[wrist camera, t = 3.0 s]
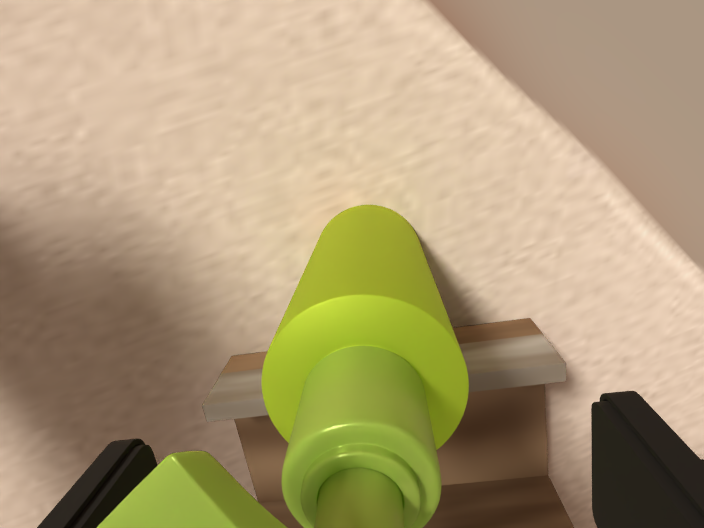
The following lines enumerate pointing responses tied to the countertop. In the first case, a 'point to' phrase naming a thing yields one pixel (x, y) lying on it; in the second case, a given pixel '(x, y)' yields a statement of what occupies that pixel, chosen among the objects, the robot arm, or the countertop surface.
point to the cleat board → (458, 451)
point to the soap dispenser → (339, 396)
